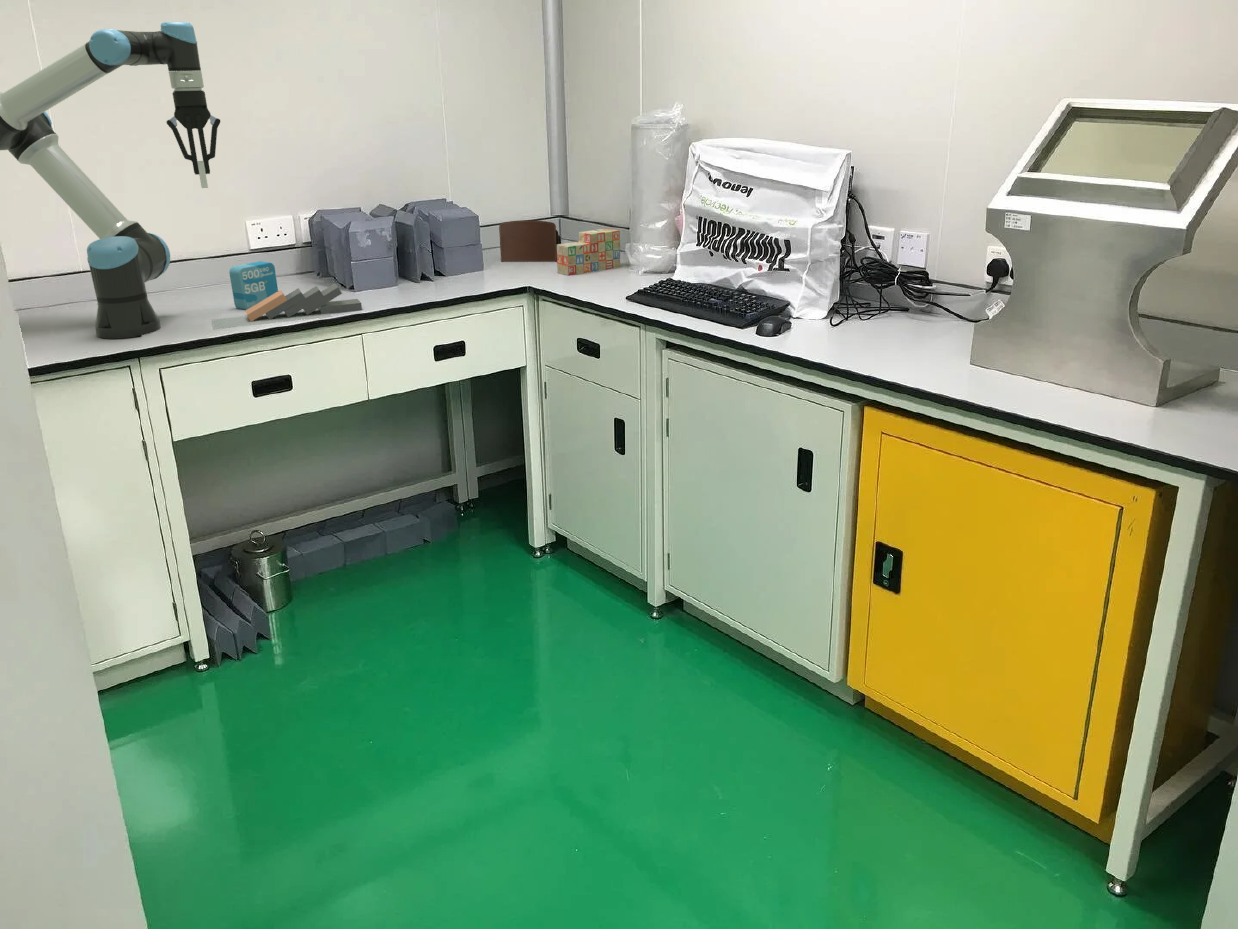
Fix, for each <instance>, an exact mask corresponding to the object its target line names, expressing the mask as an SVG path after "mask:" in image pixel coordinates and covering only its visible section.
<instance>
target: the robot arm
mask: <svg viewBox="0 0 1238 929" xmlns="http://www.w3.org/2000/svg"><path fill="white" fill-rule="evenodd" d="M152 65H166V66H167V69H168V76H169V80H170V87H171V89H174V90H173V91H172V99H173V105H174V113H173V116H172V117H171V118H170V119H167V120H166V121H165V122H166V125H168V127H169V128H170V129H171V130H172V132H173V135H174V137H175V139H176V142H177V144H178V147H179V149H180V151H181V153H182V157H183V158H184V159H185V160H187V161H190V162H191V163H192V168H193V172H194V174H195V175H199V180H200V187H201V189H209V184H208V180H207V175H210V174H211V168H210V163H209V161H210V160H212V159H214V158H215V157H216V149H217V148H216V147H217V136H218V128H219V125H220V124H221V119H220V118H217V117H215V116H214V115H211V111H210V110H209V109H208V104H207V97H206V93H205V90H202V89H203V88H204V87H205V86H204V80H203V79H204V78H203V73H202V68H201V63H200V56H199V48H198V41H197V38H196V33H195V29H194V25H193V24H191V23H190V22H187V21H165V22H164V21H163V22H161V24H160V30H158V31H132V30H121V29H120V30H119V29H113V28H103V29H98V30H96V31H95V32H93V33H92V34H91V36H90V38H89V41H87V42H86V43H84V44H83V45H81V46H80V47H77V48H76V49H74V50H73V51H72V50H71V52H69V53H68V54H66V55H64V56H62V57H61V58H59V59H58V60H56V61H54V62H53V63H51V64H49V65H47V66H46V67H44V68H42V69H40V70H39V71H38V72H36V73H34V74H33V75H31V76H29V77H27V78H26V79H24V80H23V81H20V82H19V83H17V84H15V86H12V87H11V88H9V89H7V90H6V91H4V92H0V151H8V152H9V153H10V154H11V155H12V156H13V157H14V158H15V159H16V161H17V162H18V163H20V164H23V165H29V166H30V167H32V168H33V169H34V170H35V171H36V173H37V174H39V176H40V177H41V178H42V179H43V180H44V181H45V182H46V183H47V184H48V186H50V188H51V189H52V190H53V191H54V192H55V193H56V195H58V196H59V197H60V198H61V200H62V201H63V202H64V203H65V204H66V205H67V206H68V207H69V208H70V209H71V210H72V211H73V212H74V213H75V214H76V215H77V216H78V217H79V219H81V220H82V222H83V223H84V224H85V225H86V226H87V227H88V228H89V230H91V231H92V232H93V233H94V234H95V235H96V236H97V238H99V239H97V240H94V241H92V242H90V243H89V244H88V246H87V248H86V254H87V255H86V256H87V258H86V259H87V263H88V267H89V270H90V275H91V279H92V284H93V288H94V293H95V296H96V301H97V310H96V318H95V319H96V320H95V325H94V327H95V328H94V329H95V332H96V333H95V334H96V337H98V338H101V339H109V340H111V339H115V340H116V339H129V338H137V337H142V336H145V335H148V334H151V333H154V332H157V331H160V329H161V328H162V327H161V320H160V319H159V316H158V315H157V313H156V311H155V310H154V308H153V306H152V304H151V303H150V300H149V299H148V293H147V288H146V283H147V282H149V281H153V280H156V279H158V278H159V277H160V276H161V275H163V274H164V273H165V272H166V271H167V270H168V268H169V266H170V263H171V252H170V249H169V247H168V245H167V243H166V241H165V240H164V239H162V238H161V237H160V236H159V235H157V234H156V233H151V232H147V231H146V230H145V229H144V228H143V226H142V225H141V224H140V223H139V222H138V221H135V220H129V219H127V217H125V216H124V214H123V213H122V212H121V211H120V210H119V209H118V208H117V207H116V206H115V204H113V202H112V201H110V199H109V198H108V197H107V196H106V195H105V193H103V191H101V189H100V188H99V187H98V186H97V185H96V183H94V182H93V180H91V179H90V177H89V176H88V175H87V174H86V173H85V172H84V170H82V169H81V168H80V166H79V165H77V163H76V162H75V161H74V160H73V159H72V158H71V157H70V156H69V155H68V154H67V152H66V151H64V149H63V148H62V147H61V146H60V145H59V135H58V134H57V133H56V132H55V131H54V128H53V127H52V124H53V123H52V120H51V118H50V116H49V114H48V112H46V111H49V110H50V109H52V108H53V107H54V106H56V105H58V104H60V103H61V102H63V101H65V100H66V99H68V98H70V97H72V96H73V95H74V94H76V93H78V92H80V91H81V90H83V89H85V88H86V87H88V86H89V85H92V84H93V83H94V82H97V81H98V80H100V79H101V78H103V77H105V76H106V75H108V74H110V73H112V72H114V71H116V70H117V69H119V68H120V67H122V66H134V67H137V66H152ZM209 120H210V125H211V133H210V144H209V145H210V146H209V153H208V150H207V145H206V140H205V133H204V128H205V127H206V125H207V124H208V121H209ZM177 121H178V122H179V123H180V124H181V126H183V128H184V129H186V133H187V139H188V143H189V144H188V145H189V150H190V154H189V153H188V151H187V148H186V146H185V144H184V142H183V139H182V137H181V135H180V132H179V130H178V127H177V126H178V122H177ZM194 129H197V132H198V133H197V134H198V138H199V145H200V150H201V156H202V160H198V157H197V152H196V151H197V150H196V145H195V144H196V143H195V140H194V133H193V132H194V131H193V130H194Z"/></svg>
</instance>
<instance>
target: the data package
mask: <svg viewBox="0 0 1238 929" xmlns="http://www.w3.org/2000/svg"><path fill="white" fill-rule="evenodd" d="M228 273H229V278H230V284H231V290H232V298H233V303H234V306H235V308H236V309H238V310H239V309H241V310H244V311H246V310H247V309H249V308H251V307H252V306H254V305H256V304H257V303H259V302H261V301H262V300H264V299H266V298H268V297H269V296H271V295H273V294H274V293H276V292H278V291H279V288H278V281H277V273H276V268H275V265H274V264H273V263H272V262H270V261H262V260H261V261H260V260H259V261H255V262H250V263H244V264H239V265H235V266H233V265H232V266H231V268H230V269H229V272H228Z"/></svg>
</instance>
